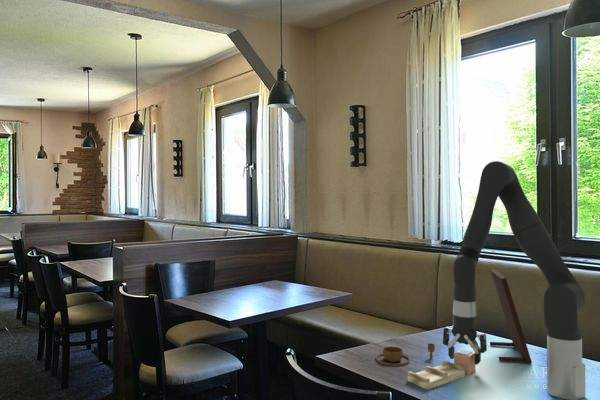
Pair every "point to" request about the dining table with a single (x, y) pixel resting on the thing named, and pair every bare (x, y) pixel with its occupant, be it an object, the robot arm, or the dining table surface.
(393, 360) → the place setting
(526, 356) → the picture frame
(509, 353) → the dining table surface
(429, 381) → the light wooden ridged board
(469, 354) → the frame block
